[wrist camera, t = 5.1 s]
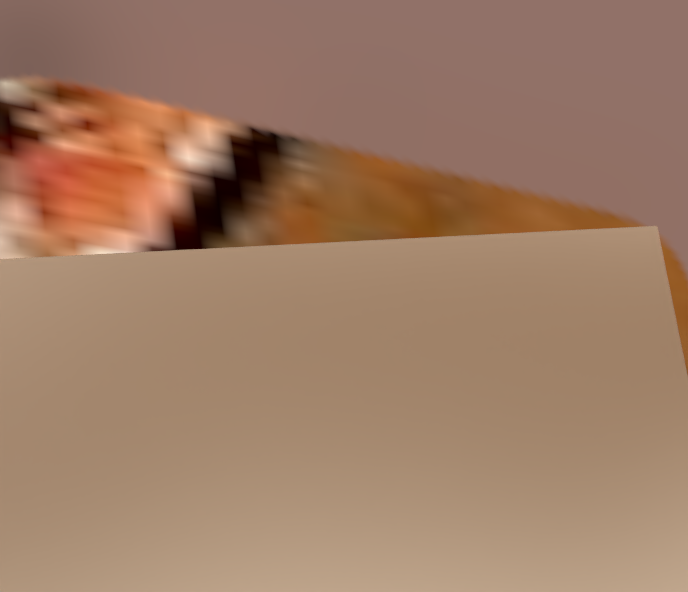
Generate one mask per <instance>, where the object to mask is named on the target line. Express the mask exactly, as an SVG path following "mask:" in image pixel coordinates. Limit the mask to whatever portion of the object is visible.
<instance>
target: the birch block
mask: <svg viewBox="0 0 688 592" xmlns="http://www.w3.org/2000/svg"><path fill="white" fill-rule="evenodd" d="M0 592H688V376H687V371H686V366H685V361H684V356H683V351H682V346H681V341H680V336H679V331H678V327H677V322H676V317H675V312H674V307H673V302H672V297H671V292H670V287H669V282H668V277H667V272H666V267H665V262H664V258H663V253H662V248H661V243H660V238H659V233H658V228H657V226H647V227H627V228H608V229H588V230H568V231H548V232H529V233H509V234H489V235H470V236H450V237H430V238H410V239H391V240H371V241H351V242H332V243H312V244H292V245H272V246H253V247H233V248H213V249H194V250H174V251H154V252H134V253H115V254H95V255H75V256H56V257H36V258H16V259H0Z"/></svg>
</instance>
